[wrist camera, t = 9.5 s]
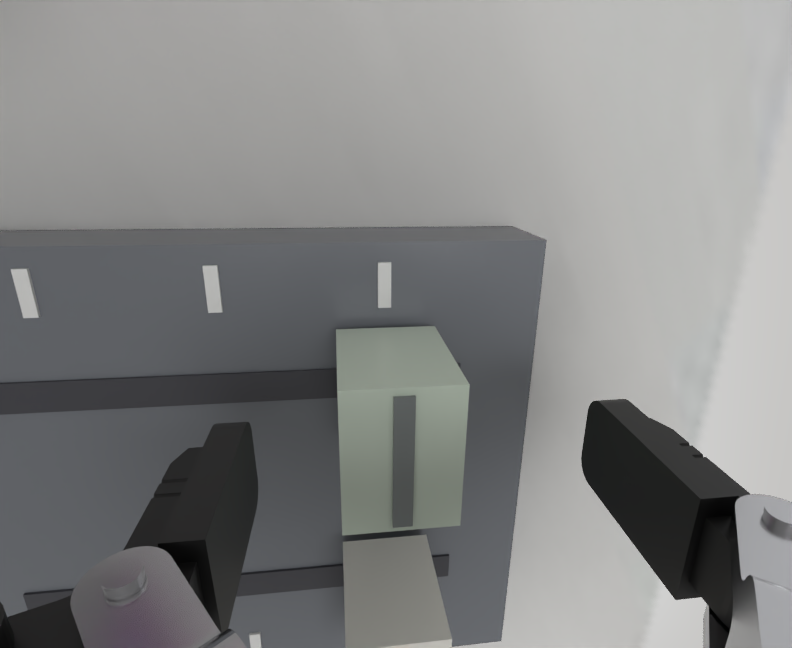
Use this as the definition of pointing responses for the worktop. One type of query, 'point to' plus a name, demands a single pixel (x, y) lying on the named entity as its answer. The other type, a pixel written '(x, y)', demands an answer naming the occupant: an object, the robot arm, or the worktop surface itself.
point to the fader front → (399, 429)
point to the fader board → (250, 399)
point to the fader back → (393, 595)
